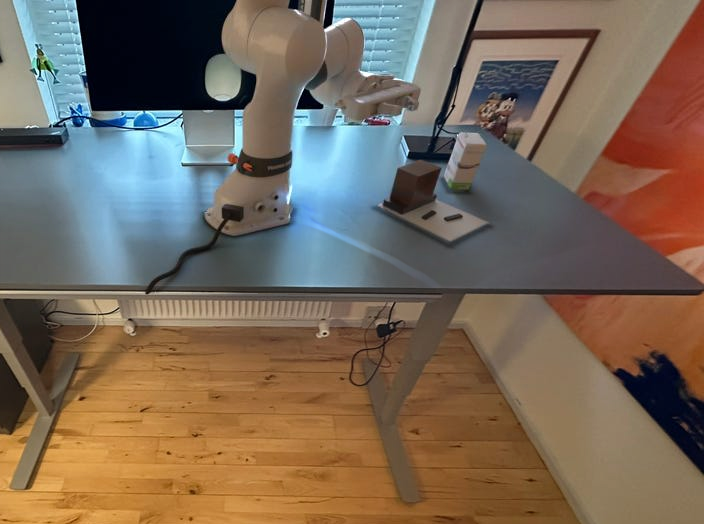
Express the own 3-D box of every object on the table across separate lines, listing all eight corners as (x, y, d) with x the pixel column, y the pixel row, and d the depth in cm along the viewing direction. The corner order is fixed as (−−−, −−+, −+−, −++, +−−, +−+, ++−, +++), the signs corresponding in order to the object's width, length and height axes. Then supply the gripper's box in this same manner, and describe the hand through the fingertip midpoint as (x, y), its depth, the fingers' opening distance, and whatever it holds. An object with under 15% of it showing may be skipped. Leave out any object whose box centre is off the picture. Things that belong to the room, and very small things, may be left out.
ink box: (468, 193, 105) (488, 144, 97) (448, 192, 106) (466, 144, 98) (461, 179, 111) (479, 131, 103) (441, 178, 112) (458, 131, 103)
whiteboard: (448, 245, 89) (450, 241, 89) (375, 208, 102) (376, 205, 101) (487, 226, 94) (489, 222, 93) (413, 193, 107) (414, 189, 106)
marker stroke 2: (447, 221, 94) (447, 219, 94) (443, 219, 95) (444, 217, 95) (462, 217, 95) (463, 215, 95) (458, 215, 96) (459, 213, 96)
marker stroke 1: (425, 220, 95) (426, 218, 95) (421, 218, 96) (421, 216, 95) (435, 213, 97) (436, 211, 97) (431, 212, 98) (431, 210, 97)
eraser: (401, 215, 97) (412, 179, 91) (382, 205, 101) (391, 170, 94) (435, 200, 101) (447, 165, 95) (415, 192, 105) (426, 157, 99)
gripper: (332, 88, 93) (378, 102, 85) (394, 72, 101) (442, 84, 92) (328, 118, 98) (371, 135, 90) (387, 102, 105) (433, 115, 97)
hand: (408, 109), depth 91 cm, fingers open, 4 cm apart
